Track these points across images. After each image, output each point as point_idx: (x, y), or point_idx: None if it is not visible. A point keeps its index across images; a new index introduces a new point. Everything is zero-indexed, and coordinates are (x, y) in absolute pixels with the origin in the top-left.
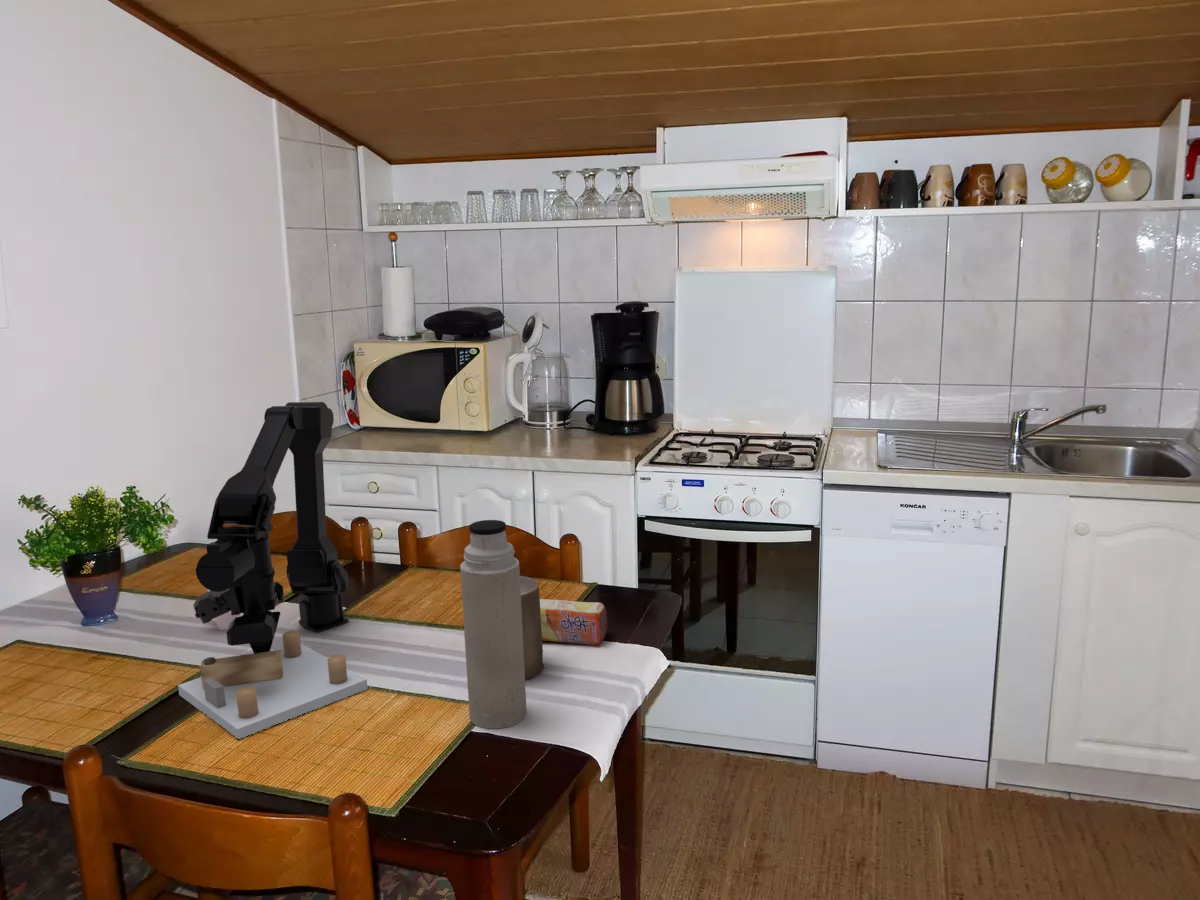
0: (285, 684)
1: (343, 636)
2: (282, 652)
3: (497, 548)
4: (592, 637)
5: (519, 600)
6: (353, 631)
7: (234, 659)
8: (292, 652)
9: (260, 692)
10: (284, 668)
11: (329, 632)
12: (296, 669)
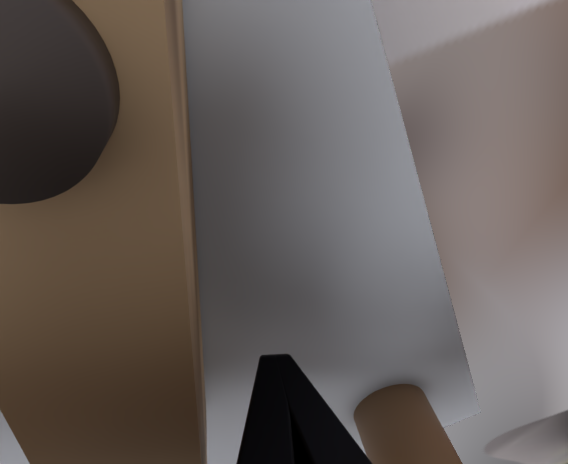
0: None
1: (498, 445)
2: (440, 372)
3: None
4: None
5: None
6: (512, 457)
7: (87, 373)
8: (363, 438)
9: None
10: (246, 405)
11: (559, 414)
12: (213, 441)
